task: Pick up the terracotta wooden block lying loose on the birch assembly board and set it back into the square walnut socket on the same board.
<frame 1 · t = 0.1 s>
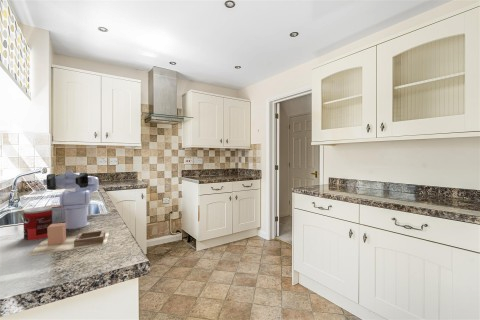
hand: (63, 181, 77), 22 cm above the counter, tool horizontal, fingers open, 7 cm apart
block: (57, 242, 77), point 1 cm above the counter, touching board
board: (73, 245, 77), on the counter
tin: (55, 224, 101), on the counter
canned food: (38, 239, 83), on the counter
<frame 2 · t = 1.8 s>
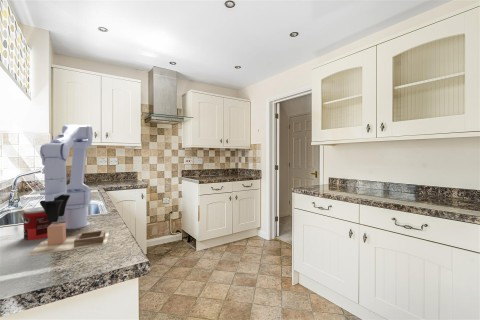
hand: (56, 219, 77), 9 cm above the counter, tool pointing down, fingers open, 7 cm apart
nothing on the counter moved.
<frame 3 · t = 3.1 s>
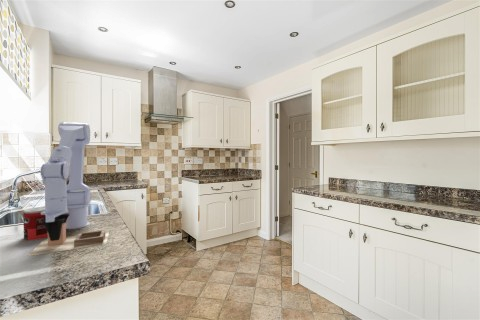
hand: (57, 237, 77), 3 cm above the counter, tool pointing down, fingers closed on block, 4 cm apart
block: (57, 242, 77), point 1 cm above the counter, touching board, gripper
everything else where it was.
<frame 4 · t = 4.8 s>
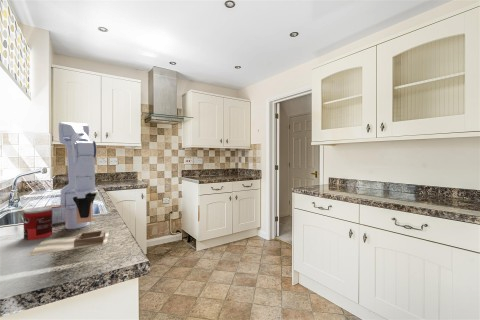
hand: (85, 215, 78), 10 cm above the counter, tool pointing down, fingers closed on block, 4 cm apart
block: (85, 221, 78), point 8 cm above the counter, touching gripper
everything else where it was.
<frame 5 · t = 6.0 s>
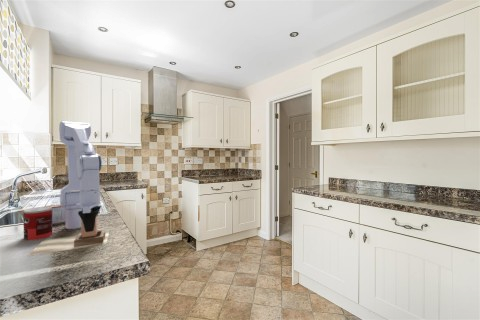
hand: (90, 229, 79), 5 cm above the counter, tool pointing down, fingers closed on block, 4 cm apart
block: (89, 234, 78), point 3 cm above the counter, touching gripper
everything else where it was.
when the fingers open (4 cm above the counter, at t = 6.7 s): block drops 1 cm, resting on board.
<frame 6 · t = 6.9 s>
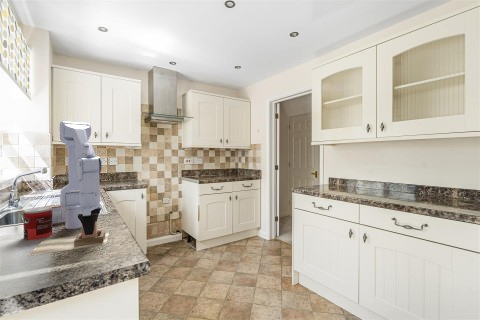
hand: (90, 231, 79), 4 cm above the counter, tool pointing down, fingers open, 6 cm apart
block: (89, 240, 79), point 1 cm above the counter, touching board
everything else where it was.
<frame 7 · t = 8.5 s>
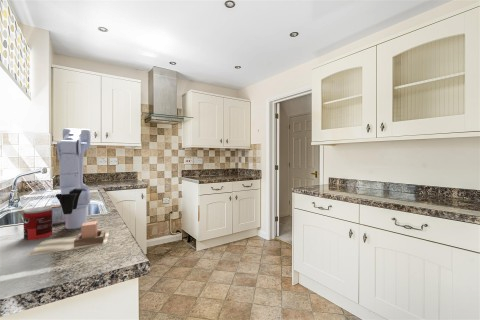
hand: (70, 211, 82), 10 cm above the counter, tool pointing down, fingers open, 7 cm apart
nothing on the counter moved.
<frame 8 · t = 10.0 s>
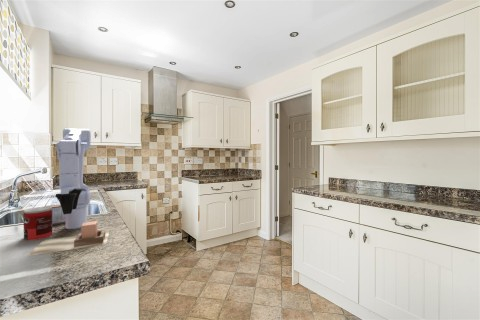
hand: (70, 211, 82), 10 cm above the counter, tool pointing down, fingers open, 7 cm apart
nothing on the counter moved.
at the end: block 0.3 cm from the target spot on the board, point 1.0 cm above the board's base; block tilted 0°; the gripper is holding nothing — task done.
